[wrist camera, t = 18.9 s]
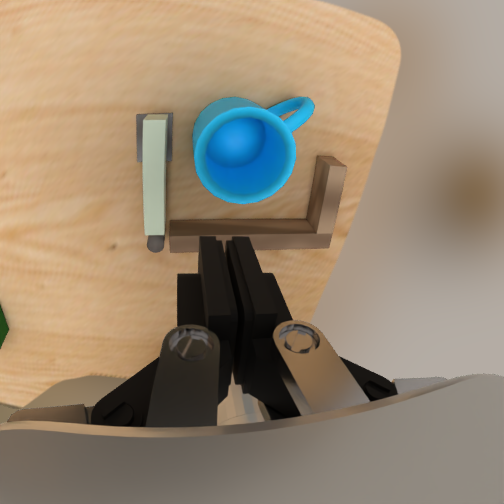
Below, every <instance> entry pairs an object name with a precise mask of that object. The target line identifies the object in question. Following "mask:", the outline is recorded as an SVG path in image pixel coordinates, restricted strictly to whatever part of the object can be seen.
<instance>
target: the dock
mask: <svg viewBox="0 0 504 504" xmlns="http://www.w3.org/2000/svg"><path fill="white" fill-rule="evenodd" d="M158 114H168V128H167V154H166V161H172V119H173V113H158ZM147 115H148V114H137V115H136V121H137V162H143V120H144V119H145V117H146V116H147ZM346 171H347V166H345V165H344V164H342V163H341V162H340V161H338V160H337V159H336V158H334V157H327V156H318V157H317V163H316V168H315V174H314V180H313V186H312V191H311V197H310V203H309V208H308V213H307V219H224V220H176V221H170V232H169V242H170V253H184V252H199V236H216V240H222V243H223V248H224V251H225V245H226V240H231V239H232V236H248V237H249V238H250V241H251V244H252V246H253V249H254V250H286V249H321V248H329V246H330V242H331V238H332V234H333V230H334V225H335V221H336V217H337V213H338V208H339V204H340V199H341V195H342V190H343V185H344V181H345V176H346ZM164 240H165V234H164V235H149V236H148V242H147V247H148V249H149V250H150V251H151V252H155V253H157V252H160V251H162V250H163V248H164Z"/></svg>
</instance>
